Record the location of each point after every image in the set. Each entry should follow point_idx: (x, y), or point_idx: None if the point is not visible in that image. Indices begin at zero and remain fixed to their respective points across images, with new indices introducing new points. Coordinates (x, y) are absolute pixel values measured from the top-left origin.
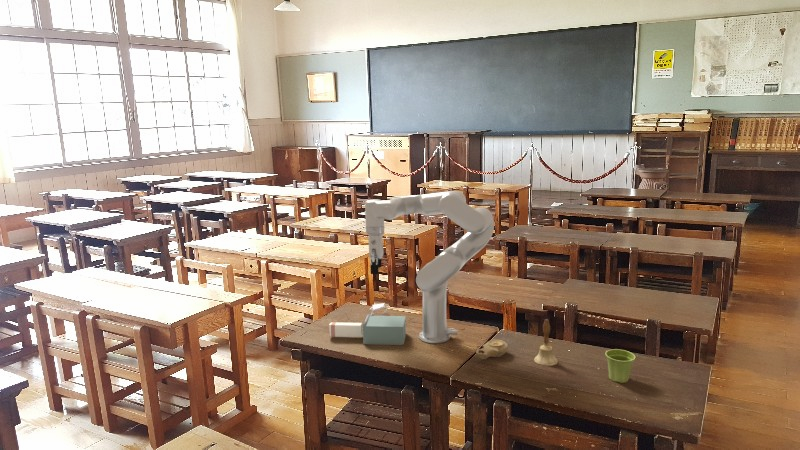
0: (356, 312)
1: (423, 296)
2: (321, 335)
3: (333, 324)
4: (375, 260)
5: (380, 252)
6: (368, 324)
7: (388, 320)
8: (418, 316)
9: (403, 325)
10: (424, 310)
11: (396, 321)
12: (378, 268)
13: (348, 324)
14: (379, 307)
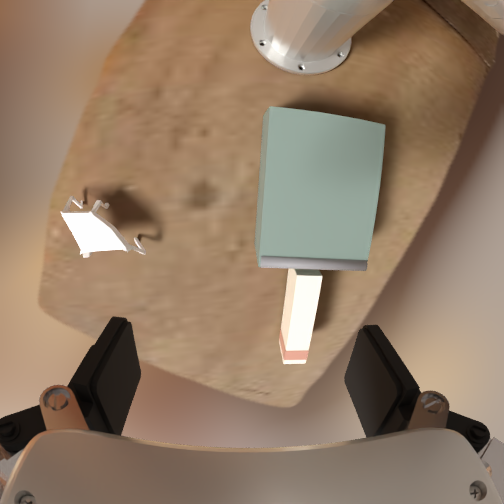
0: (89, 291)
1: (376, 3)
2: (271, 358)
3: (303, 354)
4: (486, 433)
5: (497, 498)
6: (353, 252)
7: (319, 178)
8: (106, 87)
9: (373, 122)
10: (358, 26)
11: (332, 145)
12: (389, 356)
13: (307, 315)
14: (103, 226)
